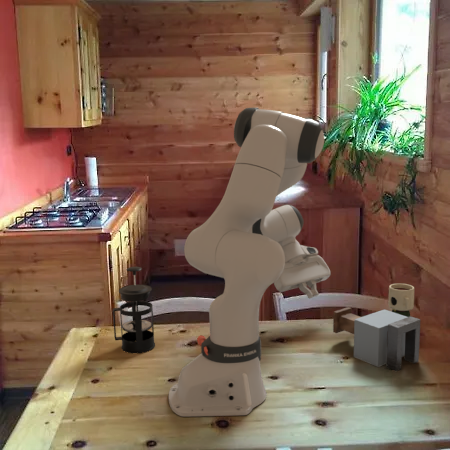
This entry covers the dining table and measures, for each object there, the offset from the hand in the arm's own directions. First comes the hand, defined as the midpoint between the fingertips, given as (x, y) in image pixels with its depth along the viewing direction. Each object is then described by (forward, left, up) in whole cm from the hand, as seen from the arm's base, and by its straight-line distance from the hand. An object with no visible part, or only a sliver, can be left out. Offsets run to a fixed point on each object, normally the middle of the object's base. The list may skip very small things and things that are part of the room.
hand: (314, 296), depth 171 cm
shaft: (+8, -17, -7) cm, 21 cm away
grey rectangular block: (+11, -22, -10) cm, 27 cm away
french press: (-52, 0, -10) cm, 53 cm away
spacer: (+13, -29, -10) cm, 33 cm away
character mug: (+25, -6, -10) cm, 27 cm away
